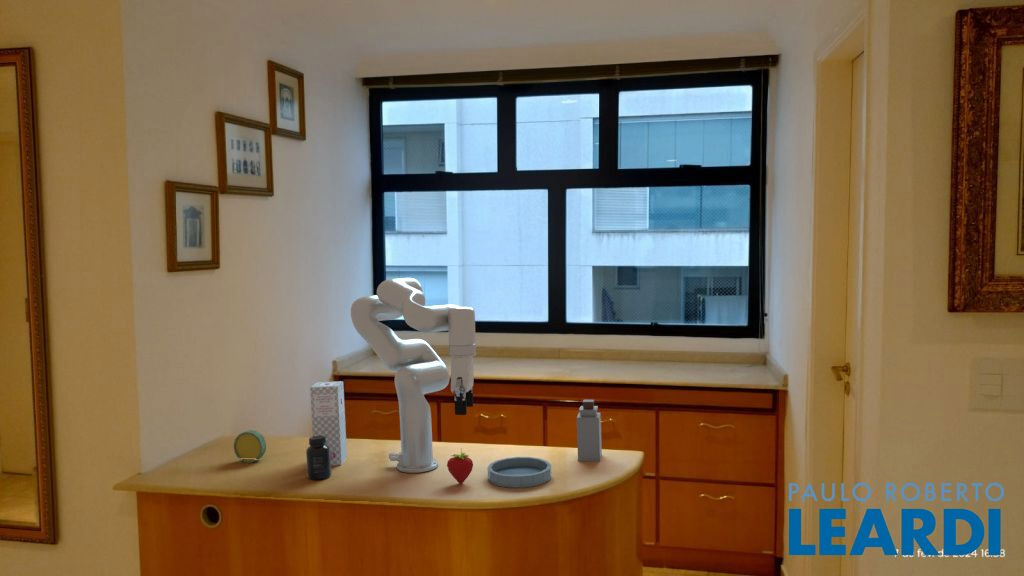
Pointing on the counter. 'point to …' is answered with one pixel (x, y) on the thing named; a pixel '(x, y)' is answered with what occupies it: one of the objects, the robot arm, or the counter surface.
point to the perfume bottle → (589, 432)
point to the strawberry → (460, 467)
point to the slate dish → (519, 472)
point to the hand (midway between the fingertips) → (464, 410)
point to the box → (330, 417)
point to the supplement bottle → (318, 458)
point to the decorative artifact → (249, 446)
